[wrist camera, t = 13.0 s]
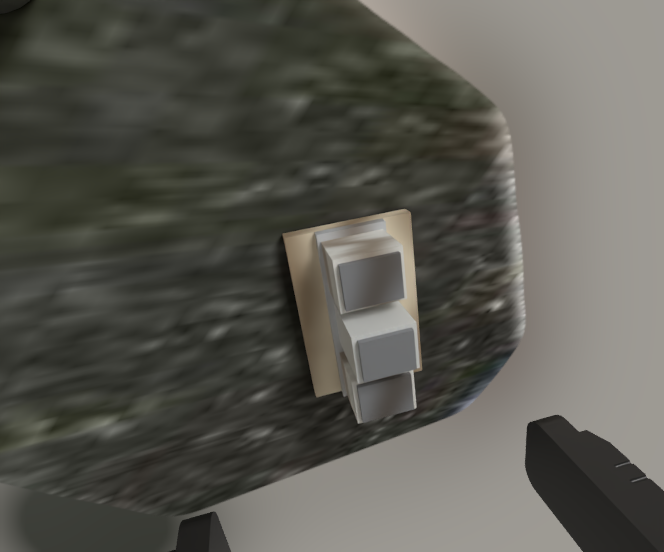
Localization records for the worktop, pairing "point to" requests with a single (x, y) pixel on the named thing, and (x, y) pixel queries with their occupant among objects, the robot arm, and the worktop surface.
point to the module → (378, 341)
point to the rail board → (316, 298)
